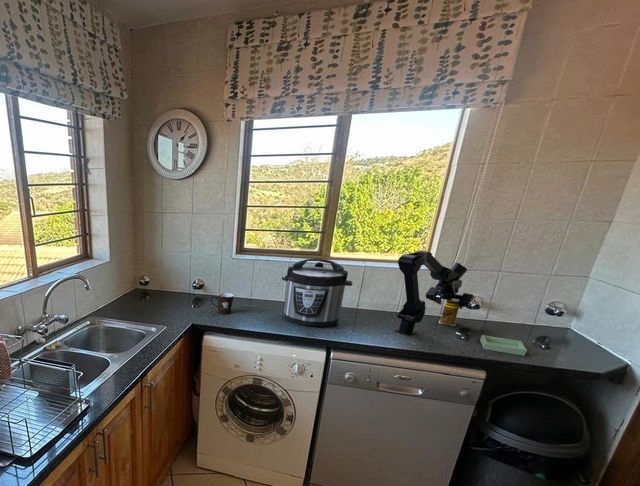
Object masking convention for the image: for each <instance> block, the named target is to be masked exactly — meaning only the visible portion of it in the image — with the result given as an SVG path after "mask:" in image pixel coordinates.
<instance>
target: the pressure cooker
mask: <svg viewBox="0 0 640 486" xmlns="http://www.w3.org/2000/svg"><path fill="white" fill-rule="evenodd" d="M307 262H316V263H315V264H314V266H305V265H306V263H307ZM324 263H326V264H329V265H331V268H330V267H325V266H324V265H325V264H324ZM348 274H349V272H348V270H345V268H344V266H343V265H341V264H339V263H338V262H335V261H332V260H329V259H324V258H306V259H303V260H299V261H297V262H295V263H293V264H292V266H288V268H287V273H286V275H282V276H281V281H285V282H286V283H287V284H286V290H285V291H286V292H285V300H284V306H283V307H284V308H283V315H284V317H285V318H286V320H287V321H289V322H291V323H294V324H297V325H301V326H307V327H318V328H319V327H330V326H333V325H336V324H337V322H338V321H339V319H340V316H341V312H342V305H343V298H344V294H345V288H346V287H352V286H353V281H352V280H348V276H349V275H348Z"/></svg>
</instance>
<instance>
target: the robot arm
mask: <svg viewBox="0 0 640 486" xmlns="http://www.w3.org/2000/svg"><path fill="white" fill-rule="evenodd" d="M397 264H398V265H397V266H398V269H399V270H400V271H401V273H402V274H403V277H404V278H403V279H404V287H405V288H404V289H405V297H406V301H405V303H404V304H403V306H402V309H401V310H400V311H398V313H397V315H396V316H397V319H400V320H401V321H400V324H399V328H398V329H395V332H397V333H400V334H404V335H407V336H411V335H414V334H416V333H417V331H414V329H415V326H416V324H417V323H418V324H419V323H421V322H422V320H423V318H424V316H425V314H426V309H427V308H426V301H425V300H421V299H420V290H419V278H418V276H419V275H418V272H419V271H420V269H421V268H422V266H425V268H427V270H429V272H430V273H429V275H430V277H431V279H432V280H435V281H438V282H437V283H436V285H435V286H431V287H429V289H428V290H427V292H425V299H426V300H429V301H431V302H433V303H436V304H437V305H439V306H441V305H443V301H442V300H445V301H447V300H450V301H451V300H457V301H459V302H458V304H459V305H458V306H459V309H460V310H462V309H463V308H465V307H466V308H467V307H469V306H470V305H471V304H472V303H473V300H474V299H475V296H474V294H473V293H467V292H463V293H462V294H459V290H460V288H462V285H463V280H462V277H463V276H464V275H465V274H466V273H467V272H468V268H467V267H466V266H464V265H462V264H461V263H459V262H455V263H454V265H453V266H452V267H451V268H449V267H447V266H444V265H442V264H441V263H440V261H439V260H437V259H436V257H434V255H433V253H432V252H430V251H426V250H419V251H416V252H408V253H403V254H402V255H400V257H399V258H398V259H397Z"/></svg>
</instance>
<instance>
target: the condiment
mask: <svg viewBox="0 0 640 486" xmlns="http://www.w3.org/2000/svg"><path fill="white" fill-rule="evenodd" d="M458 302H459V300H457V299H452V300H451V301H450V300H446V302H445V304H444V306H443V308H442V309H443V310H442V313H441V315H440V316H441V317H440V318H439V320H438V324H442V325H447V326H453V327H456V326H457V322H458V321H456V319H457V316H458V312H459V309H460V308H459V306H458V305H459V304H458Z"/></svg>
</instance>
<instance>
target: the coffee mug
mask: <svg viewBox="0 0 640 486" xmlns="http://www.w3.org/2000/svg"><path fill="white" fill-rule="evenodd" d="M234 296H235V295H234V294H233V293H231V292H220V293H217V296H211V298H210V301H209V302H210V303H211V304H212V305H213V306H215V307H216V308H217V311H218V314H219V315H220V314H221V315H230V314H231V312H232V307H233V303H234V302H233V301H234V298H235V297H234ZM214 298H215V299H216V300H217V305H216V304H215V303H213V301H212V300H213V299H214Z"/></svg>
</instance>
